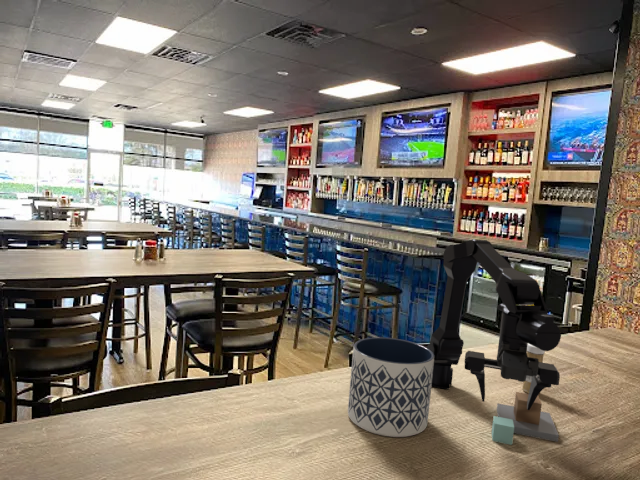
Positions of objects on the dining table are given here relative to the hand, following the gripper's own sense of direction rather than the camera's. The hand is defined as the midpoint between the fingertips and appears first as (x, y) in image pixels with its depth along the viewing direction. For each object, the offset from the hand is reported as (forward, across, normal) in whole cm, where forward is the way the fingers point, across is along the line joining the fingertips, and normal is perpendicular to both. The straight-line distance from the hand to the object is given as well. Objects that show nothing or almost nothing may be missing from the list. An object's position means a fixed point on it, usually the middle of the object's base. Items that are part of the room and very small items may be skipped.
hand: (505, 405), depth 105 cm
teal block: (+8, 0, 0) cm, 8 cm away
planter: (+8, -25, -2) cm, 26 cm away
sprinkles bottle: (+8, +10, +33) cm, 35 cm away
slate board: (+8, +6, +10) cm, 14 cm away
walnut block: (+6, +6, +10) cm, 13 cm away
